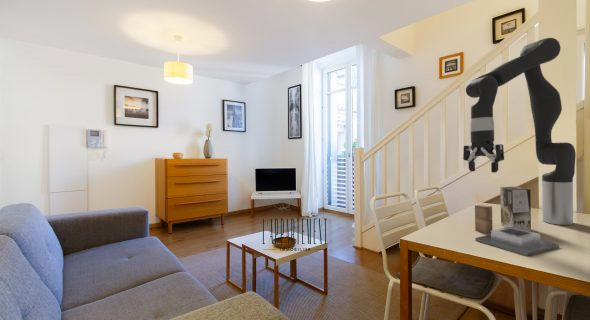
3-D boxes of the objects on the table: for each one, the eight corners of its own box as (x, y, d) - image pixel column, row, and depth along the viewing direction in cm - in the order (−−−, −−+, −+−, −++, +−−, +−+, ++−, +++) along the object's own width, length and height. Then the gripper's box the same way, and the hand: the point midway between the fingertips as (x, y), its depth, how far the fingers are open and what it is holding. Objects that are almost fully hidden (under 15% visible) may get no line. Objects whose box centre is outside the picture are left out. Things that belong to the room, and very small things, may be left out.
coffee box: (532, 231, 104) (531, 189, 104) (512, 231, 106) (512, 189, 105) (517, 225, 113) (517, 186, 113) (500, 224, 115) (499, 186, 114)
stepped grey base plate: (505, 234, 103) (505, 223, 103) (558, 247, 88) (558, 235, 88) (475, 240, 97) (475, 229, 97) (527, 256, 82) (527, 243, 82)
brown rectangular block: (482, 229, 110) (481, 204, 110) (492, 231, 106) (492, 206, 106) (475, 230, 108) (474, 205, 108) (485, 233, 105) (484, 207, 104)
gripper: (508, 128, 101) (509, 172, 101) (471, 131, 114) (472, 170, 114) (494, 128, 98) (495, 173, 99) (458, 131, 111) (459, 171, 112)
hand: (482, 171), depth 106 cm, fingers open, 8 cm apart
